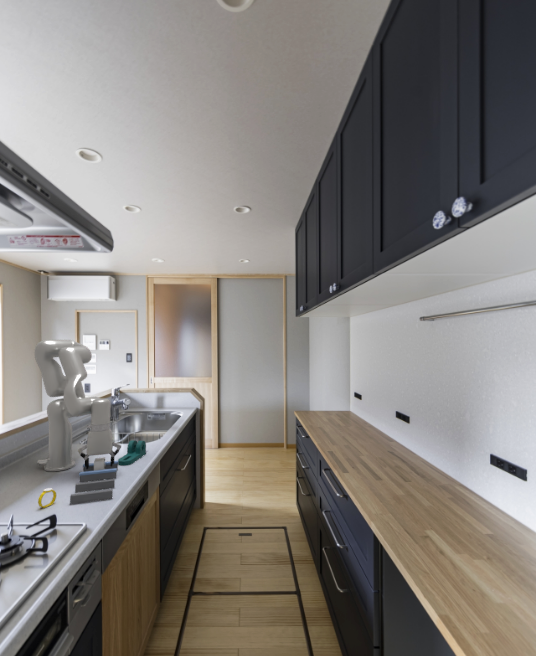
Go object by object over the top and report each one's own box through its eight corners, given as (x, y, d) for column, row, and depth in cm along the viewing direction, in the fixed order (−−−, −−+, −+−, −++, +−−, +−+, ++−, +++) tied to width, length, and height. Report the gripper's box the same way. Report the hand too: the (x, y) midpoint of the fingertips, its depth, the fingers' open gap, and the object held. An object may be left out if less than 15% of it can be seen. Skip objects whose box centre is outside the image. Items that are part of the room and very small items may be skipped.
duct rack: (69, 504, 130) (69, 493, 130) (83, 472, 161) (83, 463, 161) (112, 498, 135) (113, 488, 135) (118, 468, 166) (118, 460, 166)
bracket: (133, 454, 188) (133, 438, 189) (145, 454, 188) (146, 439, 188) (115, 466, 170) (115, 449, 171) (129, 466, 170) (129, 449, 170)
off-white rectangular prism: (93, 478, 155) (93, 461, 155) (95, 474, 160) (95, 458, 160) (103, 477, 156) (104, 460, 156) (104, 473, 161) (105, 457, 161)
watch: (52, 502, 132) (53, 486, 133) (57, 504, 131) (58, 487, 132) (35, 508, 127) (37, 491, 127) (41, 510, 125) (42, 492, 126)
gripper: (76, 431, 152) (76, 472, 152) (121, 427, 158) (120, 467, 157) (79, 426, 159) (79, 466, 159) (122, 424, 165) (121, 461, 164)
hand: (99, 466), depth 158 cm, fingers open, 9 cm apart
